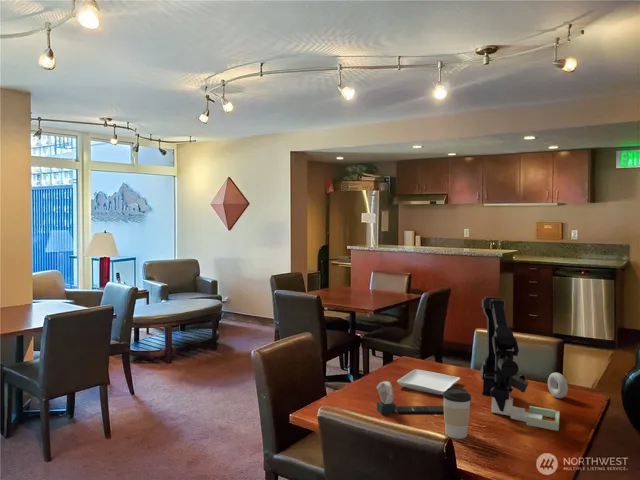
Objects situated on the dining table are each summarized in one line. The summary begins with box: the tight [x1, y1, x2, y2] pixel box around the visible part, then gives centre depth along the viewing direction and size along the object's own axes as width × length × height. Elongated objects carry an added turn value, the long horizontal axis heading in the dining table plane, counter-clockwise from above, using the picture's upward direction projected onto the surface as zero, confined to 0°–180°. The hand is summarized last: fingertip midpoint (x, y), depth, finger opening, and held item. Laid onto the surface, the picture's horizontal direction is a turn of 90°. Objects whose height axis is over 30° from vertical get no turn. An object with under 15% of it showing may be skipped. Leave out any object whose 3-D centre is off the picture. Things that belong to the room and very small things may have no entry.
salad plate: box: [396, 368, 461, 396], centre depth 209 cm, size 21×21×3 cm
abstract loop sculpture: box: [376, 380, 397, 415], centre depth 181 cm, size 6×8×11 cm
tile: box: [522, 411, 544, 423], centre depth 174 cm, size 6×6×2 cm
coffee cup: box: [442, 386, 472, 440], centre depth 162 cm, size 9×9×15 cm
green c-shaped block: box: [525, 405, 560, 432], centre depth 173 cm, size 10×12×2 cm
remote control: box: [395, 405, 444, 415], centre depth 181 cm, size 5×24×1 cm, turn 92°
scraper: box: [490, 396, 526, 422], centre depth 178 cm, size 11×7×6 cm, turn 62°
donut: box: [547, 372, 569, 399], centre depth 196 cm, size 10×4×10 cm, turn 10°
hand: (502, 409), depth 179 cm, fingers closed on scraper, 2 cm apart
